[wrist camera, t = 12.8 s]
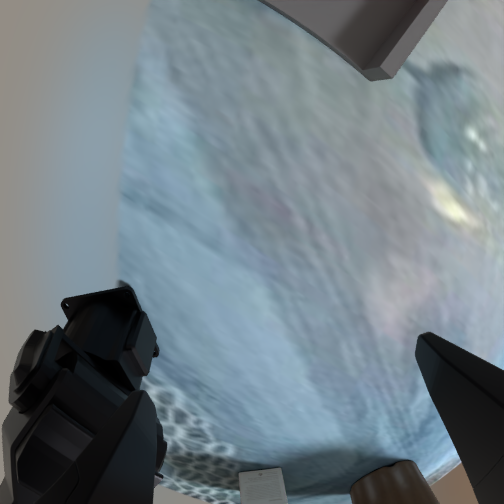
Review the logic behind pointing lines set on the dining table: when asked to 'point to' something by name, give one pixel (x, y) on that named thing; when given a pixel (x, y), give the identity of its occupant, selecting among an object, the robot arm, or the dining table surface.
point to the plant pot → (393, 486)
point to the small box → (262, 487)
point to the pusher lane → (364, 29)
